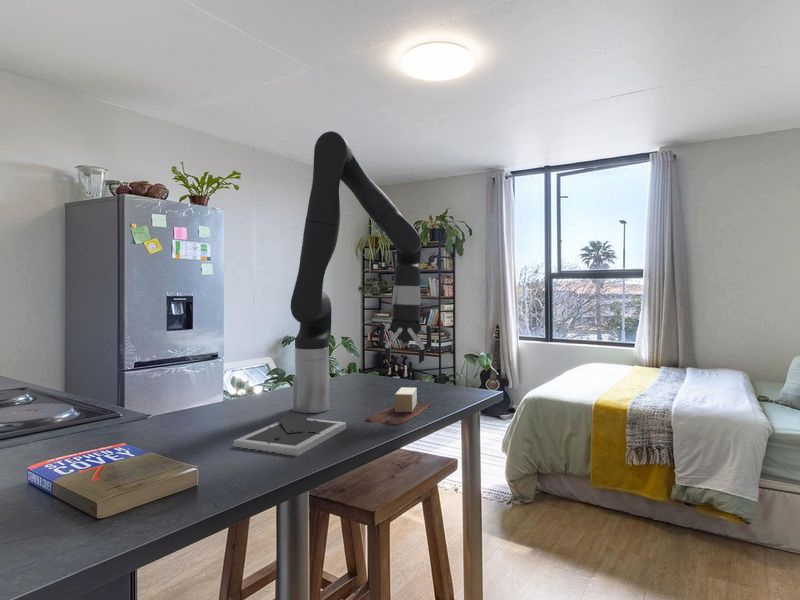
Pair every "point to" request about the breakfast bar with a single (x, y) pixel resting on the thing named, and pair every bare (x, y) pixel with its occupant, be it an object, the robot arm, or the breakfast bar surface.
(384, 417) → the wooden tablet
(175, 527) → the breakfast bar surface
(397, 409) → the cream block
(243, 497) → the breakfast bar surface
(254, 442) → the picture frame
